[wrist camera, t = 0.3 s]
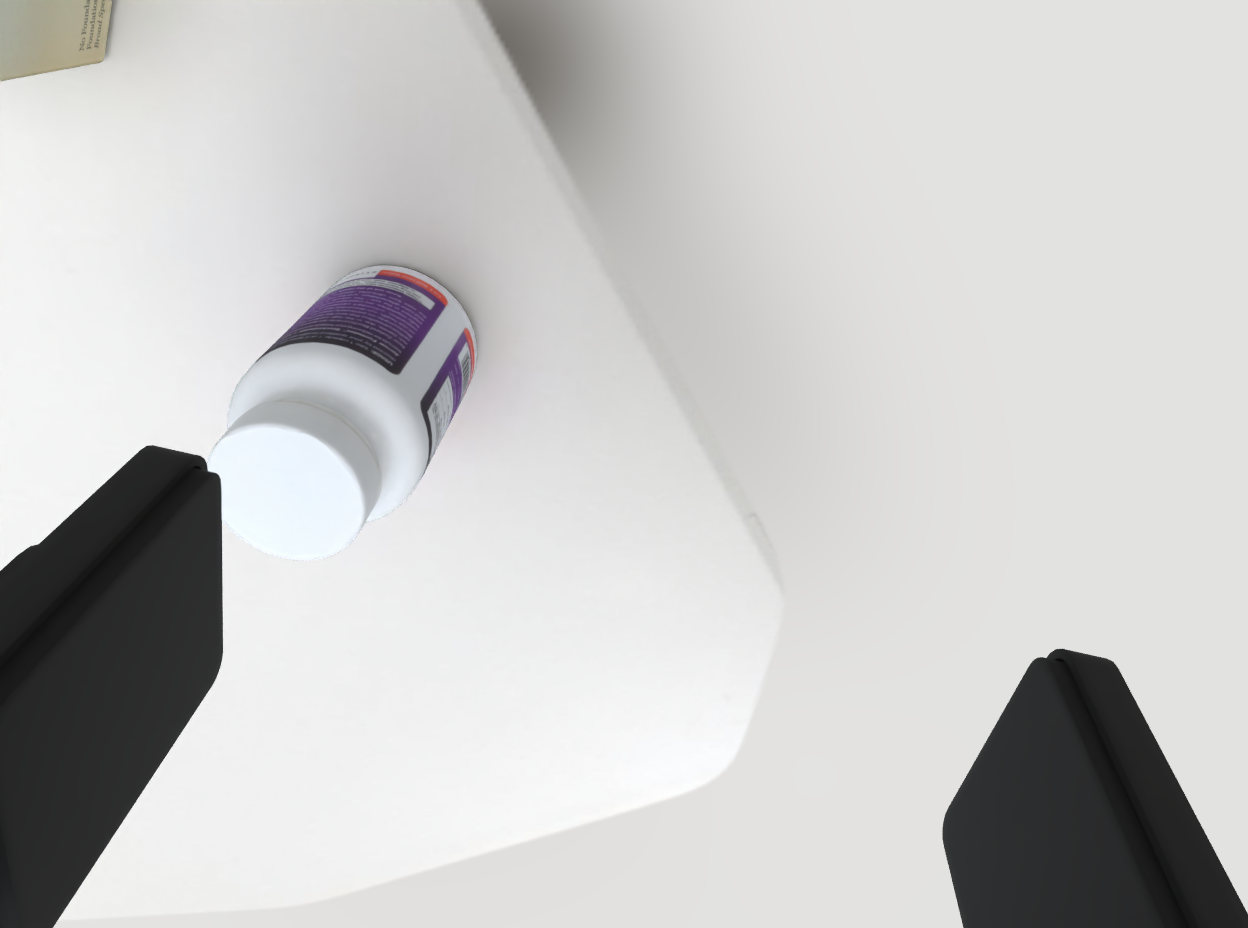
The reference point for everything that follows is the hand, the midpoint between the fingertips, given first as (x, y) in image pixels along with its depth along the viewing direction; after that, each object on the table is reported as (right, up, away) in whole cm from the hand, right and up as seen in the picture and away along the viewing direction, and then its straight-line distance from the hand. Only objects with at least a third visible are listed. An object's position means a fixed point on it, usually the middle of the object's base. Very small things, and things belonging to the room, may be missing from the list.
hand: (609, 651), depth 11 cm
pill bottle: (-7, +6, +21) cm, 23 cm away
